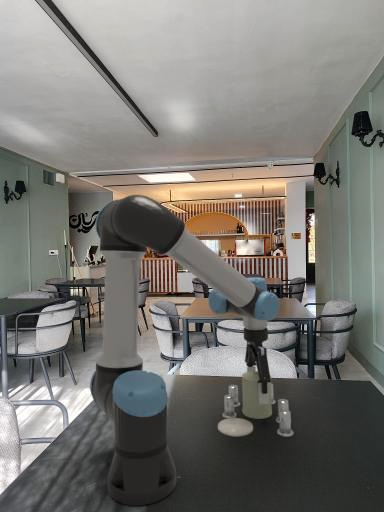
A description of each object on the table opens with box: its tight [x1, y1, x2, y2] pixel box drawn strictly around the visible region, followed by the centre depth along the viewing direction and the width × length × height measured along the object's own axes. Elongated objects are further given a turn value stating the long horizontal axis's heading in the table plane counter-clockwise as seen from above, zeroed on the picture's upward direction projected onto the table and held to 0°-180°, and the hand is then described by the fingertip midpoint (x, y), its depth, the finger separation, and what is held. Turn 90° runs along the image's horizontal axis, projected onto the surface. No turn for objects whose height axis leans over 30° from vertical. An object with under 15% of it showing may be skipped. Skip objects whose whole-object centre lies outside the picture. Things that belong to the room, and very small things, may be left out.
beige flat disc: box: [217, 417, 254, 438], centre depth 109 cm, size 10×10×1 cm
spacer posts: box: [222, 382, 294, 438], centre depth 115 cm, size 25×19×6 cm
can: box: [241, 370, 273, 420], centre depth 118 cm, size 9×9×12 cm
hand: (257, 394), depth 118 cm, fingers open, 13 cm apart
